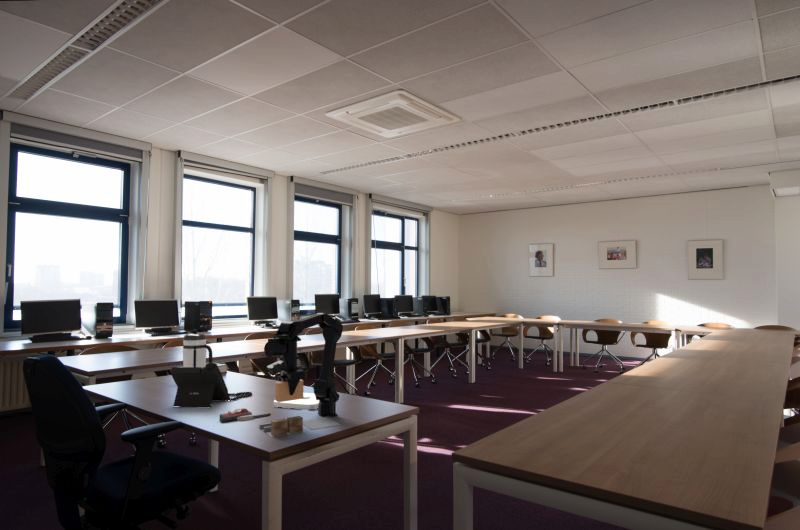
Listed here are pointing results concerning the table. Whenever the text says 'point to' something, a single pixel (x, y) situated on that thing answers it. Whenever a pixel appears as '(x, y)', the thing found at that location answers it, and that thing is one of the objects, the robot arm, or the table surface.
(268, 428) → the rack
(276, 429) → the offcut
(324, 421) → the mat
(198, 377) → the office phone
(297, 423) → the offcut
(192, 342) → the coffee press
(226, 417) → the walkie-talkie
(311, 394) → the white plate
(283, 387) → the light brown flat block
